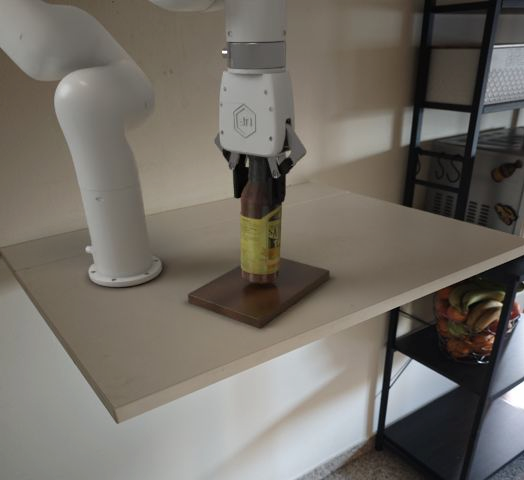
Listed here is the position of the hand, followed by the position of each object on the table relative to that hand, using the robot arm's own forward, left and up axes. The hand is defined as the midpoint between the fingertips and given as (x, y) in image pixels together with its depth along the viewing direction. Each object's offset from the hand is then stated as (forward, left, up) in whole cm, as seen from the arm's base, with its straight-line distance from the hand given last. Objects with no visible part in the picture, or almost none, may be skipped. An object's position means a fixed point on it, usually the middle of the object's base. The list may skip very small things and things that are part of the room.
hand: (259, 198), depth 73 cm
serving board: (0, 0, -15) cm, 15 cm away
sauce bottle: (0, 0, -13) cm, 13 cm away
